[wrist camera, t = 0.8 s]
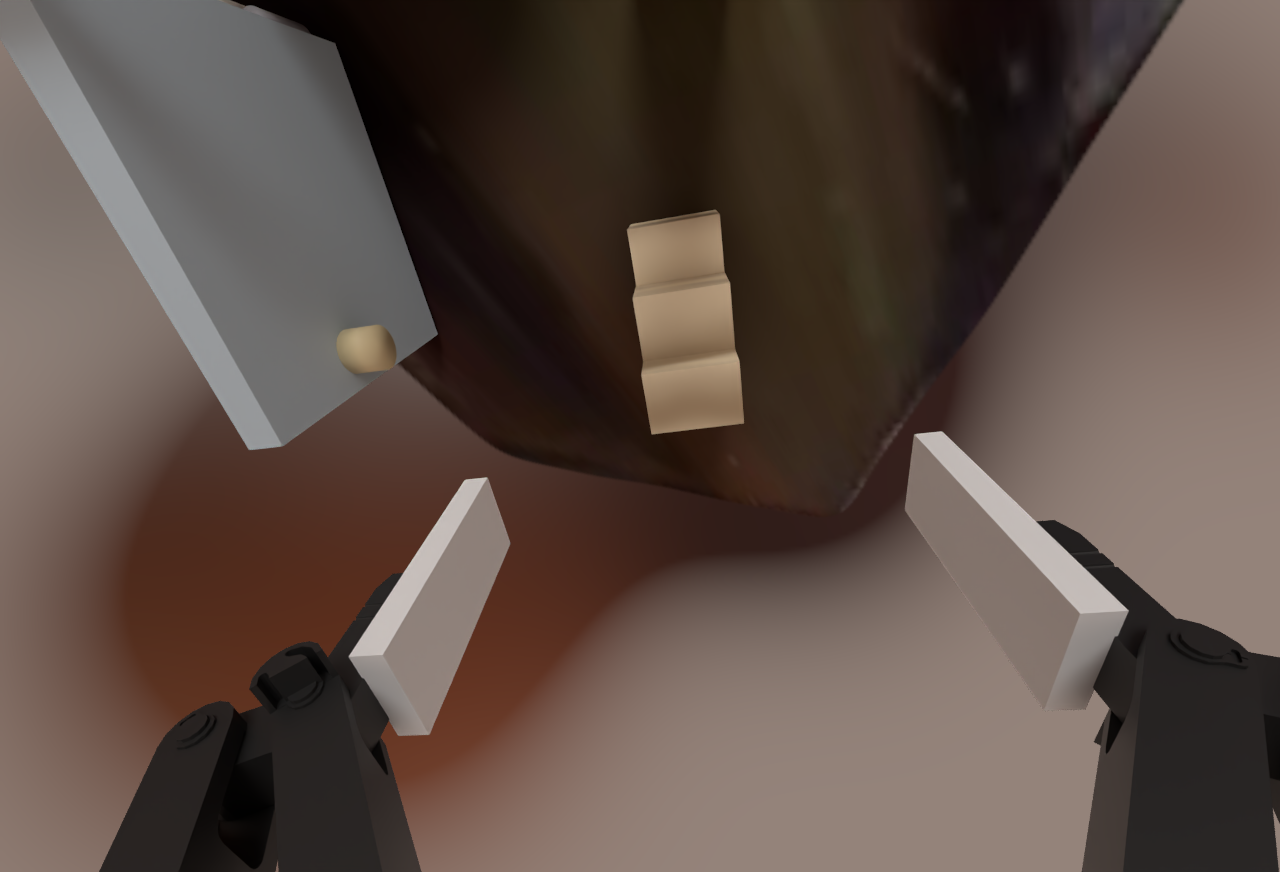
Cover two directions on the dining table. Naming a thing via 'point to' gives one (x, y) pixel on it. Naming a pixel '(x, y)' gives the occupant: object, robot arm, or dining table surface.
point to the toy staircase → (685, 323)
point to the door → (234, 193)
